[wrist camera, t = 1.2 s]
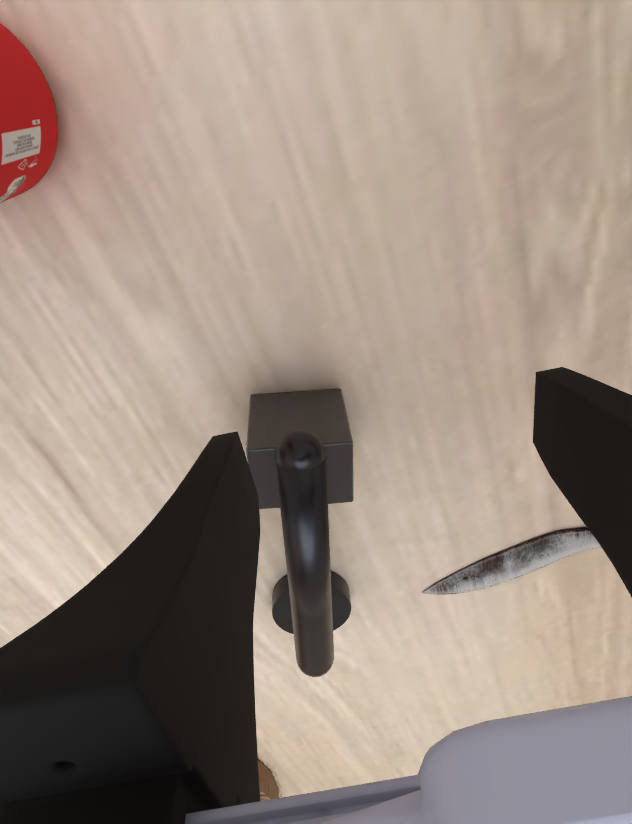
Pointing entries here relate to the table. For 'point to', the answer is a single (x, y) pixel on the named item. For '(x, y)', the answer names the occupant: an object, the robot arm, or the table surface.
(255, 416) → the dark grey cube
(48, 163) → the beverage can
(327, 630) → the crank handle
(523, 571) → the knife
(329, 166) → the table surface
